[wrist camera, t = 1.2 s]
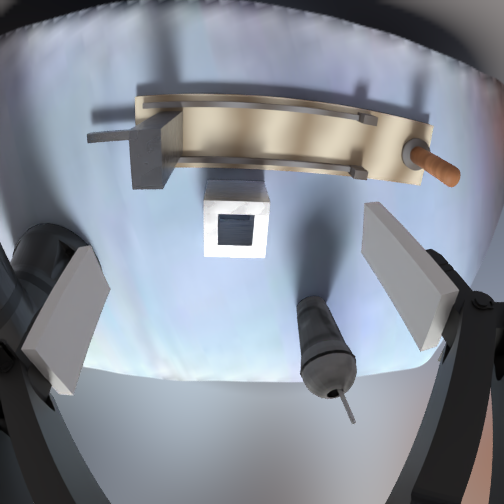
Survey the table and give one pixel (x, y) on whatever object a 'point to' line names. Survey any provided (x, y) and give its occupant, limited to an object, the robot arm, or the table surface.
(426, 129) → the board
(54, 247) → the robot arm
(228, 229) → the link
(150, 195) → the table surface
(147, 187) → the grey l-shaped block
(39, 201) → the table surface
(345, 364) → the beverage cup
